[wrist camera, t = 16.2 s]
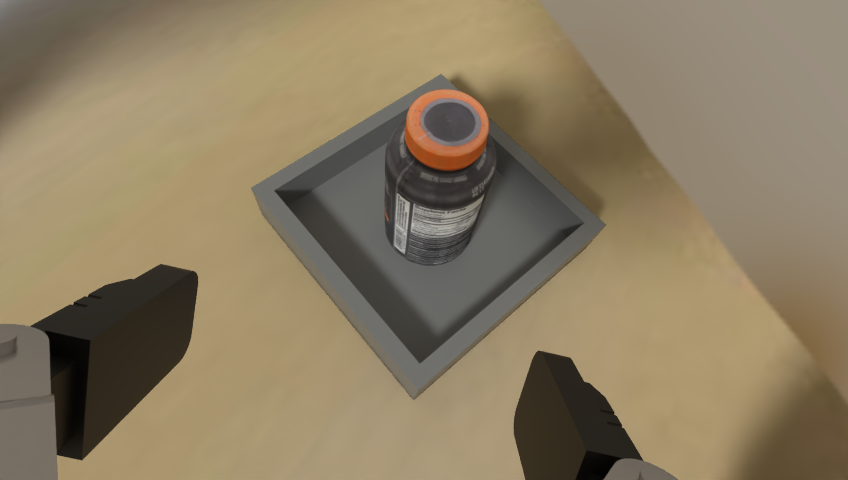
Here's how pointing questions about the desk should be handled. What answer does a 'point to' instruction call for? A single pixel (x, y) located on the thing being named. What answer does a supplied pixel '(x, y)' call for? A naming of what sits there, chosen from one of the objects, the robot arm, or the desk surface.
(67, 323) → the robot arm
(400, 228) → the pill bottle
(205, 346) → the desk surface
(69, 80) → the desk surface
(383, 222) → the tray
